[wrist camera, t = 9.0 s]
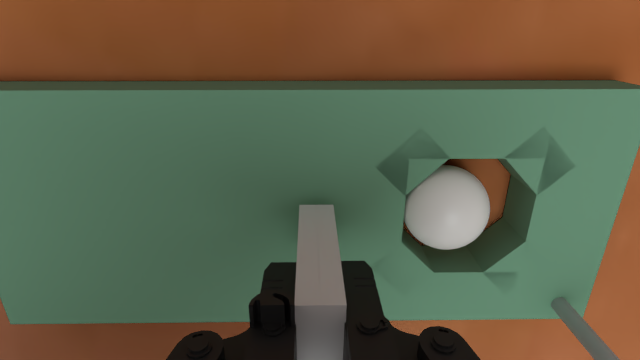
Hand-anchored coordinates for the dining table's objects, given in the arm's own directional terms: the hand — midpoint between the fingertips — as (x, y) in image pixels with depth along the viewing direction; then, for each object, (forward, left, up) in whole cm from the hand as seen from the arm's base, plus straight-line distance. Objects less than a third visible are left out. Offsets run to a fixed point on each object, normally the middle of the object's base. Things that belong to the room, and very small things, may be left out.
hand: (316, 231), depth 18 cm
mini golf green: (-1, 0, -3) cm, 3 cm away
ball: (+6, +1, -1) cm, 6 cm away
